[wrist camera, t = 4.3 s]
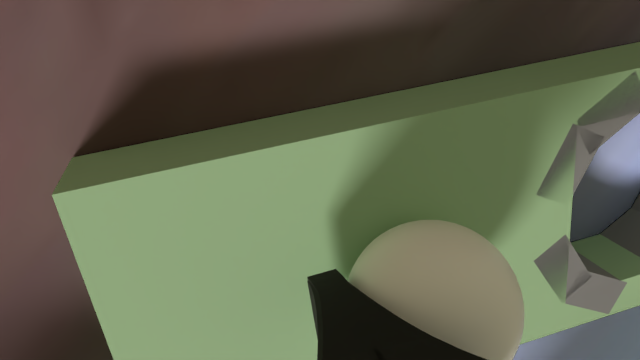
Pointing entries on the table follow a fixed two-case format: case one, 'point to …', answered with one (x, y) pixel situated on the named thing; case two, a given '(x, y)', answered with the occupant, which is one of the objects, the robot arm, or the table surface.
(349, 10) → the table surface
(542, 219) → the putting mat
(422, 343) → the robot arm
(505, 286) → the ball
